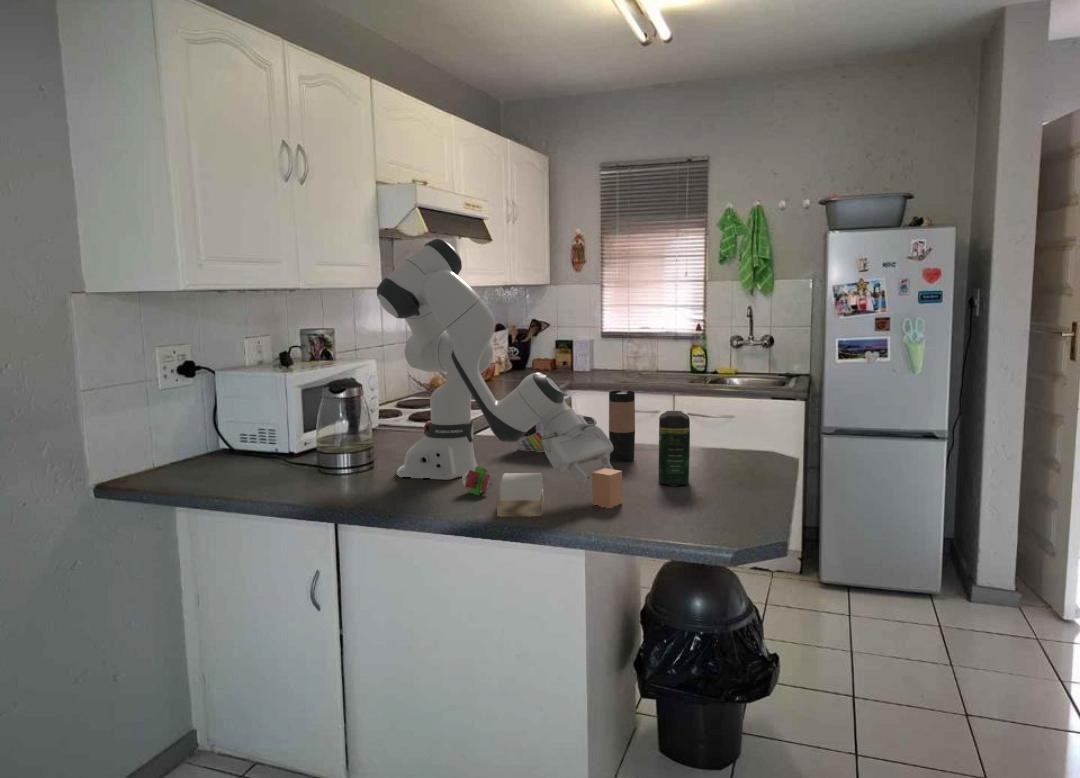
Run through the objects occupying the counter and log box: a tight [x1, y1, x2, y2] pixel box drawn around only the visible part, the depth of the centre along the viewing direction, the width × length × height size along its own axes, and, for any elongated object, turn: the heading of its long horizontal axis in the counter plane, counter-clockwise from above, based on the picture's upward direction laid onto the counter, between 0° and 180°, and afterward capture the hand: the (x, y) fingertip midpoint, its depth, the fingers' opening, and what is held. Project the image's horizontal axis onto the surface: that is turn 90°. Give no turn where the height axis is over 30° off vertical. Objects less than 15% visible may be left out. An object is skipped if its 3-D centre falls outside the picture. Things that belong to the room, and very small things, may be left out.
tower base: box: [496, 488, 545, 518], centre depth 176 cm, size 10×10×4 cm
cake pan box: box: [516, 395, 573, 453], centre depth 235 cm, size 19×5×18 cm, turn 61°
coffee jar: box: [658, 410, 691, 487], centre depth 197 cm, size 10×8×19 cm
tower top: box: [499, 472, 543, 501], centre depth 175 cm, size 9×9×4 cm
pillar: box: [591, 467, 623, 509], centre depth 178 cm, size 5×5×8 cm
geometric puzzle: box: [461, 466, 493, 497], centre depth 190 cm, size 7×7×8 cm
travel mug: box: [608, 390, 636, 462], centre depth 223 cm, size 8×8×20 cm
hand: (598, 475), depth 179 cm, fingers open, 8 cm apart
